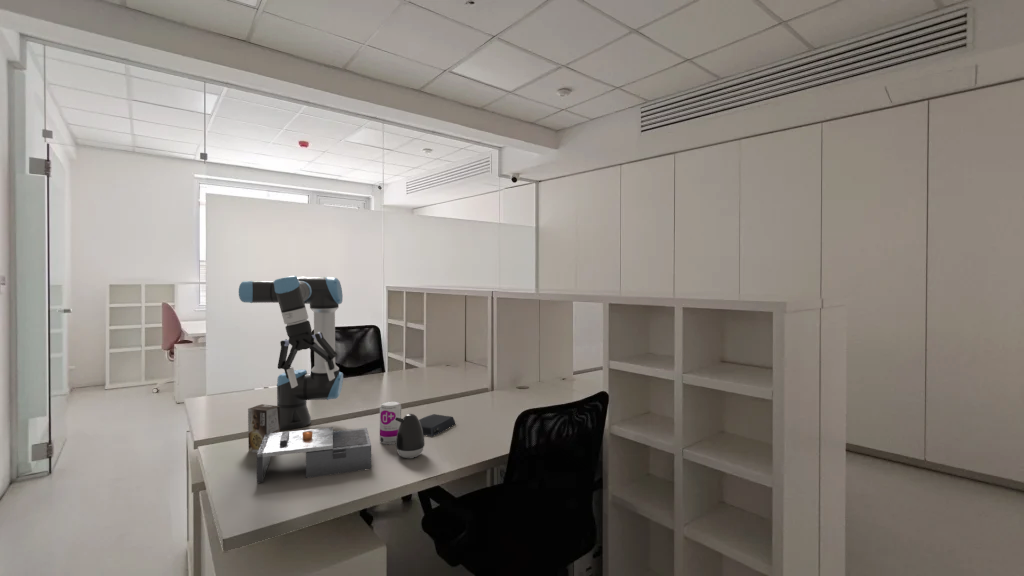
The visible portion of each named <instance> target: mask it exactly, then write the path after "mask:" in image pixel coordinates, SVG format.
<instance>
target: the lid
mask: <svg viewBox="0 0 1024 576" xmlns="http://www.w3.org/2000/svg"><path fill="white" fill-rule="evenodd" d="M333 431H334V430H333V426H331V427H324V428H323V427H321V428H313V429H312V428H311V429H310V428H309V429H303V430H302V429H301V430H291V431H289V430H288V431H286V430H285V431H280V432H279V433H269V434H265V436H264V438H263V440H262V443H261V445H260V448H259V450H258V452H257V453H256V484H257V483H263V482H264V479H265V476H266V473H267V470H268V467H269V464H270V462H271V457H274V456H275V457H276V456H283V455H292V454H300V453H306V452H311V451H320V450H328V449H333Z"/></svg>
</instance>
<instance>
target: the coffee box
mask: <svg viewBox="0 0 1024 576" xmlns="http://www.w3.org/2000/svg"><path fill="white" fill-rule="evenodd" d="M247 415H248V416H247V418H248V419H247V423H248V424H247V427H248V429H247V430H248V431H247V433H248V452H249V453H256V454H257V452H258V450H259V448H260V445H261V443H262V440H263V438H264V436H265V434H269V433H279V432H281V429H280V406H277V405H272V404H270V405H269V404H258V405H256V406H252V407H249V408H248V409H247Z"/></svg>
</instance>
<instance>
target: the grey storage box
mask: <svg viewBox="0 0 1024 576" xmlns="http://www.w3.org/2000/svg"><path fill="white" fill-rule="evenodd" d="M368 431H369V430H368V428H367V427H361V428H353V429H343V430H342V429H341V430H333V449H328V450H320V451H311V452H305V478H315V477H321V476H322V477H323V476H330V474H331V475H338V473H339V474H345V473H352V471H354V472H359V471H358V470H361V471H366V470H365V469H369V470H372V443H371V438H370V435H369V432H368Z"/></svg>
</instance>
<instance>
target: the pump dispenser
mask: <svg viewBox="0 0 1024 576" xmlns="http://www.w3.org/2000/svg"><path fill="white" fill-rule="evenodd" d="M395 420H396V421H399V422H401V424H400V426H399V429H398V433H397V438H396V444H395V448H396V452H397V453H398V455H399V456H400V457H401V458H404V459H414V457H415V458H416V457H419V456H420V455H421V454H422V452H423V451H424V447H425V444H426V443H425V436H424V434H423V429H422V426H421V424H420V421H419V418H418V416H417V415H416V414H414V413H407V414H406V415H404V417H403V418H402V417H401V418H397V417H396V419H395Z"/></svg>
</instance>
